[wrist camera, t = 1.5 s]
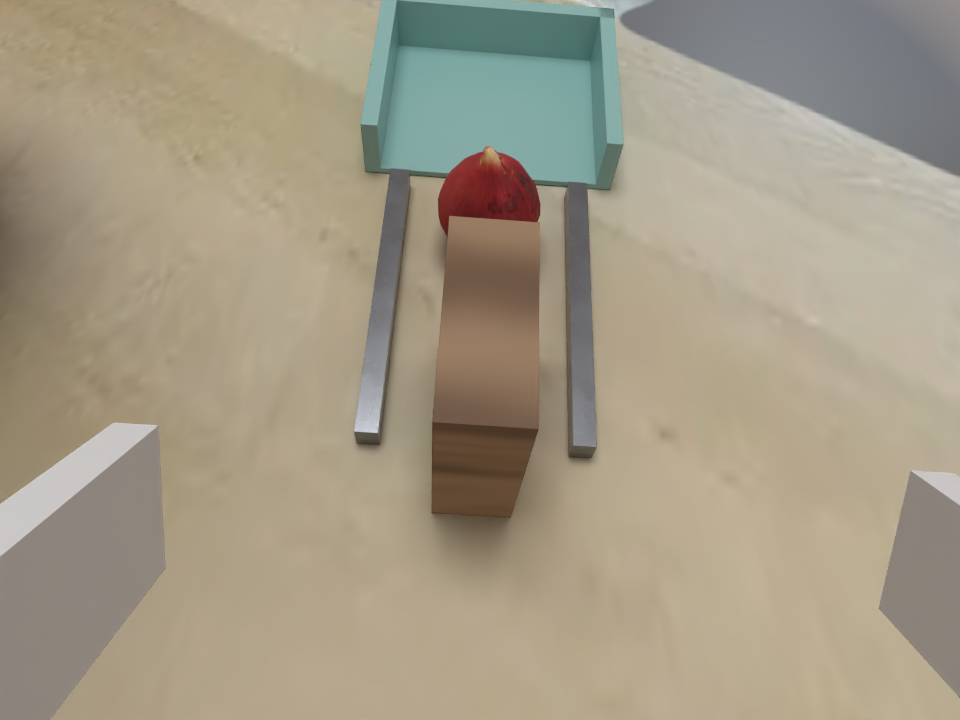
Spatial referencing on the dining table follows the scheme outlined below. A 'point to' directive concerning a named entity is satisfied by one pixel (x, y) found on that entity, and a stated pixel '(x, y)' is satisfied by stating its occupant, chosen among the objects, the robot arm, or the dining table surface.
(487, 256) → the pusher block
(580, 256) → the slot rails
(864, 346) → the dining table surface
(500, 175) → the onion
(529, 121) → the tray
